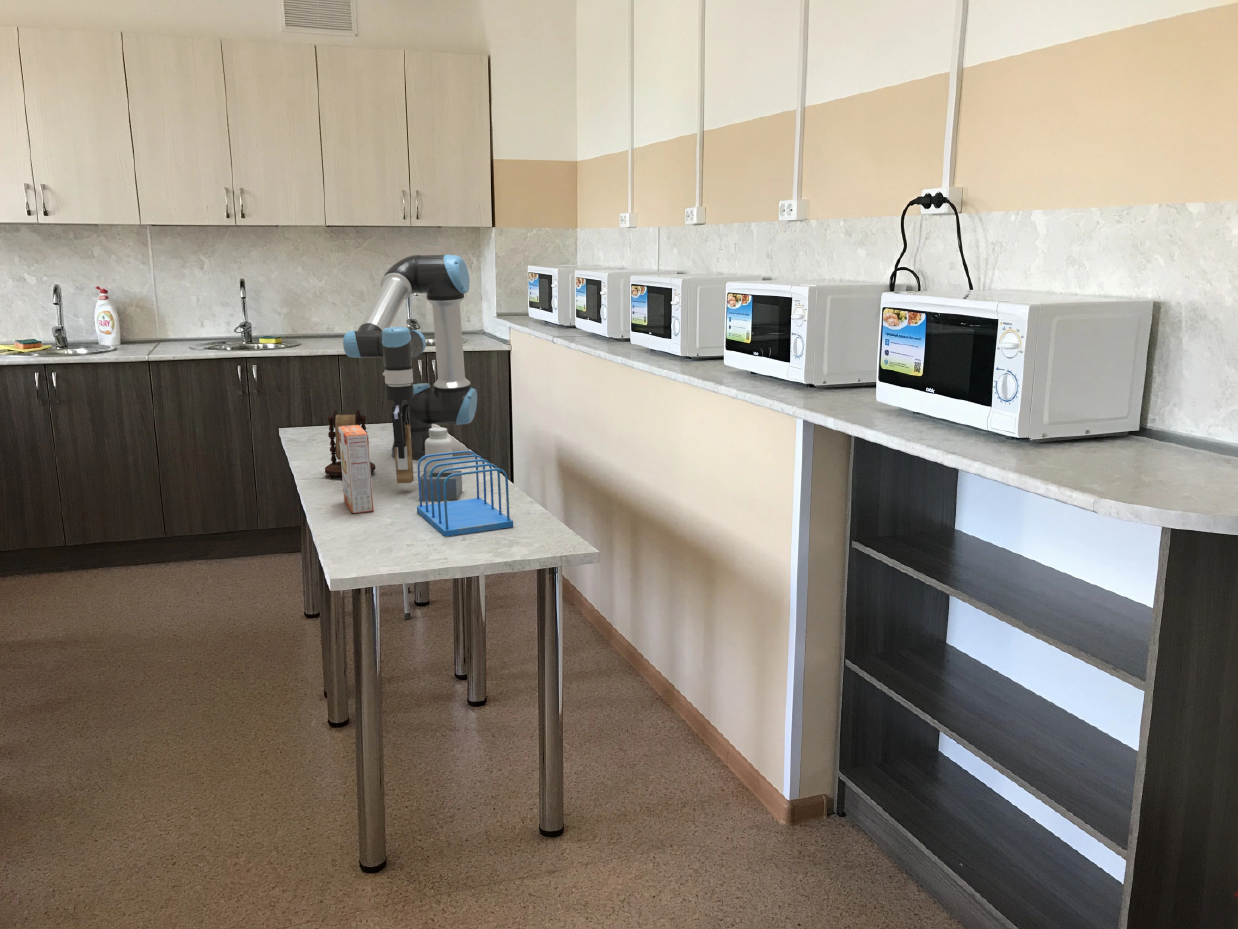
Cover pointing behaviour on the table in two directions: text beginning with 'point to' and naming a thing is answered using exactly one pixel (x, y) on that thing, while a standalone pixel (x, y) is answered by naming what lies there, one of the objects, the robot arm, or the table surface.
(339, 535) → the table surface
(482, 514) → the file sorter
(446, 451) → the pill bottle
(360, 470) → the cracker box
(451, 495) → the grey square sleeve
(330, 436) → the scroll
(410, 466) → the long wooden beam
